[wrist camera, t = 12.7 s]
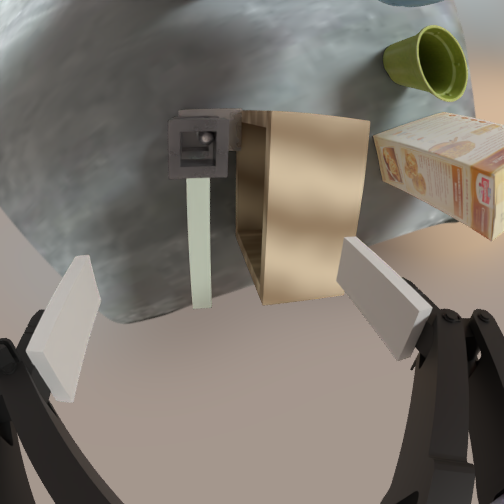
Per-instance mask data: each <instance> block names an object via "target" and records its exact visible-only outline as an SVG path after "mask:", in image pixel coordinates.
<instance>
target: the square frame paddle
mask: <svg viewBox="0 0 504 504" xmlns="http://www.w3.org/2000/svg"><path fill="white" fill-rule="evenodd" d="M198 131H212V132H213V134H214V141H213V143H212V144H210V145H208V146H207V147H183V132H198ZM228 145H229V119H226V118H219V116H216V115H196V116H174V117H173V119H170V120H168V168H169V179H186V183H187V219H188V242H189V261H190V276H191V291H192V303H193V309H200V308H212V301H211V300H212V299H211V262H210V178H217V177H228Z"/></svg>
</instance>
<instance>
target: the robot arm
mask: <svg viewBox="0 0 504 504" xmlns="http://www.w3.org/2000/svg"><path fill="white" fill-rule="evenodd" d="M379 1H381V2H383V3H385V4H388V5H392V6H405V7H417V6H424V5H429V4H434V3H437V2H440V1H443V0H379ZM336 281H337V282H338V284H339V285H340V286H341V288H342V289H343V290H344V291H345V293H346V294H347V295H348V296H349V298H350V299H351V300H352V302H353V303H354V304H355V305H356V307H357V308H358V309H359V311H360V312H361V313H362V315H363V316H364V317H365V318H366V320H367V321H368V322H369V324H370V325H371V326H372V328H373V329H374V330H375V332H376V333H377V334H378V336H379V337H380V338H381V340H382V341H383V342H384V344H385V345H386V347H387V348H388V349H389V351H390V352H391V353H392V355H393V356H394V357H395V359H396V360H397V361H400V360H403V359H406V358H409V357H410V356H411V354H412V352H413V350H414V348H415V347H416V348H417V349H418V351H419V353H418V355H417V358H416V360H415V361H414V363H413V365H412V367H411V370H413V368H414V367H415V366H416V367H415V376H414V383H413V390H412V396H411V403H410V408H409V414H408V419H407V424H406V430H405V434H404V439H403V443H402V447H401V451H400V455H399V459H398V463H397V466H396V470H395V473H394V477H393V480H392V484H391V486H390V489H389V490H388V492H387V494H386V495H385V497H384V498H383V500H382V502H381V503H380V504H471V500H472V494H473V487H474V480H475V478H476V489H477V497H478V501H479V504H504V336H503V334H502V332H501V330H500V328H499V327H498V325H497V323H496V321H495V319H494V318H493V316H492V315H491V314H490V313H488V312H487V311H486V310H481V309H476V310H474V312H473V314H472V316H471V318H461V317H460V316H459V314H458V313H456V312H455V311H452V310H450V309H441V310H440V309H439V308H438V307H437V306H436V305H435V304H434V303H433V302H432V301H431V300H430V299H429V298H428V297H427V296H426V295H425V294H423V293H422V292H421V291H420V290H419V289H418V288H417V287H416V286H415V285H414V284H413V283H412V282H411V281H409V280H407V279H405V278H403V277H400V276H399V275H398V274H397V273H396V272H395V271H394V270H393V269H392V268H391V267H390V266H388V265H387V264H386V263H385V262H384V261H383V260H382V259H381V258H380V257H379V256H378V255H376V254H375V253H374V252H373V251H372V250H371V249H370V248H369V247H367V246H366V245H365V244H364V243H363V242H362V241H361V240H359V239H358V238H357V237H356V236H355V237H344V240H343V246H342V252H341V258H340V263H339V268H338V274H337V279H336ZM100 303H101V298H100V295H99V291H98V288H97V284H96V280H95V277H94V273H93V269H92V265H91V261H90V256H89V255H81V256H75V258H74V260H73V261H72V263H71V265H70V266H69V268H68V270H67V271H66V273H65V275H64V276H63V278H62V280H61V282H60V284H59V285H58V287H57V289H56V290H55V293H54V294H53V296H52V298H51V300H50V302H49V303H48V305H47V307H46V309H45V310H39V311H38V312H37V313H36V314H35V315H34V316H33V317H32V318H31V320H30V322H29V324H28V327H27V328H26V330H25V332H24V334H23V336H22V338H21V340H20V342H19V344H18V346H17V348H15V346H14V345H13V343H12V341H11V340H9V339H7V338H1V339H0V504H35V501H34V498H33V495H32V492H31V489H30V485H29V482H28V479H27V475H26V472H25V468H24V464H23V460H22V456H21V452H20V447H19V442H18V436H19V438H20V440H21V442H22V445H23V447H24V449H25V451H26V453H27V455H28V457H29V459H30V461H31V463H32V465H33V467H34V469H35V470H36V472H37V474H38V476H39V477H40V479H41V481H42V483H43V484H44V486H45V488H46V489H47V491H48V493H49V494H50V496H51V497H52V499H53V500H54V502H55V504H124V503H123V502H122V501H121V500H120V499H119V498H118V497H117V496H116V494H115V493H114V492H113V491H112V490H111V489H110V487H109V486H108V485H107V484H106V483H105V481H104V480H103V479H102V478H101V477H100V475H99V474H98V473H97V472H96V470H95V469H94V468H93V466H92V465H91V464H90V462H89V461H88V460H87V458H86V457H85V456H84V454H83V453H82V452H81V450H80V449H79V447H78V446H77V444H76V443H75V441H74V440H73V438H72V437H71V435H70V434H69V432H68V431H67V429H66V428H65V426H64V424H63V423H62V421H61V419H60V418H59V416H58V414H57V413H56V411H55V409H54V408H53V406H52V404H51V403H50V401H49V396H50V393H52V395H53V396H54V398H55V399H56V400H57V401H62V402H73V401H74V397H75V392H76V388H77V383H78V379H79V375H80V371H81V367H82V363H83V359H84V356H85V352H86V348H87V345H88V341H89V338H90V335H91V331H92V328H93V325H94V321H95V318H96V315H97V312H98V309H99V306H100ZM480 351H481V358H480V359H479V360H478V358H477V355H478V353H479V352H480ZM468 432H469V434H470V440H471V446H472V453H473V461H474V465H473V464H470V463H468V462H467V448H468ZM17 434H18V436H17Z"/></svg>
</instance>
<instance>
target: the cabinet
mask: <svg viewBox="0 0 504 504" xmlns="http://www.w3.org/2000/svg"><path fill="white" fill-rule="evenodd" d="M196 115H216V116H219V118H226V119H229V145H228V151H236V238H237V241H238V244H239V246H240V249H241V251H242V254H243V256H244V259H245V262H246V264H247V267H248V269H249V272H250V274H251V277H252V279H253V282H254V285H255V287H256V290H257V292H258V295H259V297H260V300H261V302H262V305H272V304H280V303H288V302H297V301H304V300H311V299H319V298H326V297H333V296H340V295H344V292H345V291H344V290H343V289H342V288H341V286H340V285H339V284H338V282H337V281H336V279H337V274H338V268H339V263H340V258H341V252H342V246H343V240H344V237H355V236H356V232H357V226H358V220H359V213H360V207H361V200H362V193H363V186H364V178H365V170H366V161H367V152H368V142H369V131H370V121H366V120H360V119H353V118H345V117H338V116H329V115H320V114H310V113H298V112H283V111H253V110H242V109H240V108H220V109H187V110H179V116H196ZM213 141H214V134H213V132H212V131H198V132H183V147H207V146H208V145H210V144H212V143H213Z"/></svg>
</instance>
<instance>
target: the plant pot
mask: <svg viewBox="0 0 504 504" xmlns="http://www.w3.org/2000/svg"><path fill="white" fill-rule="evenodd" d="M383 64H384V68H385V70H386V71H387V73H388V74H389V76H390V78H391V79H392V80H393V81H394V82H395V83H397V84H399V85H402V86H407V87H411V88H415V89H419V90H423V91H427V92H430V93H431V94H433V95H434V96H436V97H437V98H439V99H441V100H443V101H447V102H453V101H456V100H458V99H459V98H460V97H461V96H462V95H463V93H464V91H465V89H466V85H467V79H468V69H467V63H466V59H465V56H464V53H463V51H462V48H461V47H460V45H459V43H458V41H457V40H456V39H455V38H454V36H453V35H452V34H451V33H450V32H449V31H447V30H446V29H444V28H443V27H440V26H437V25H431V26H427V27H425V28H423V29H422V30H421V31H420V32H419V33H418V34H417V35H415V36H413V37H410V38H407V39H405V40H402V41H399V42H397V43H394V44H392V45H390V46H389V47H387V48H386V50H385V52H384V55H383Z"/></svg>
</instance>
